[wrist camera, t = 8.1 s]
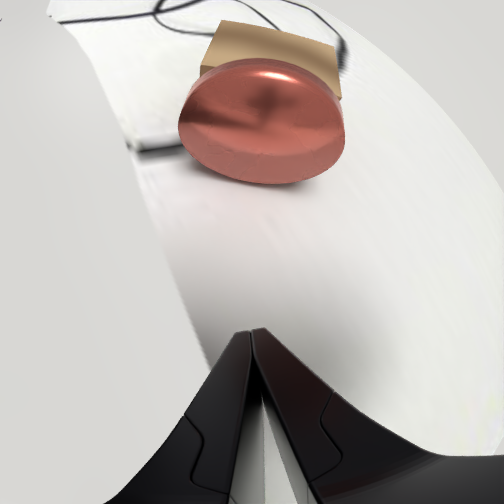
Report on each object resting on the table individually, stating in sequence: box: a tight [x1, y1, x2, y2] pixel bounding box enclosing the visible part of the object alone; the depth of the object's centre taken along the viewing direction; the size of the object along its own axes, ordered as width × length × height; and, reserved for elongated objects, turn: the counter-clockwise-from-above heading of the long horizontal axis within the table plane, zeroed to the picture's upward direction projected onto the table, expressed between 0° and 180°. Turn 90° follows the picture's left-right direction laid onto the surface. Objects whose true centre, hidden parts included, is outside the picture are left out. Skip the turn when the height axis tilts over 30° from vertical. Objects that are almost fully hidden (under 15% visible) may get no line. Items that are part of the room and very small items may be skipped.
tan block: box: [200, 20, 342, 101], centre depth 18 cm, size 6×8×7 cm
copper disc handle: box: [178, 58, 345, 184], centre depth 16 cm, size 11×9×9 cm
